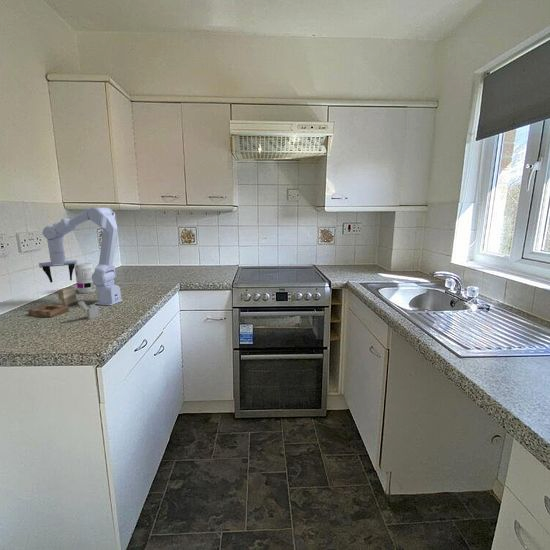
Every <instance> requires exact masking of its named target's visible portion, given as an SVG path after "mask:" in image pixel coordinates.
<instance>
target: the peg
mask: <svg viewBox="0 0 550 550" xmlns="http://www.w3.org/2000/svg"><path fill="white" fill-rule="evenodd" d="M76 293H77V292H76V289H75V286H67V287H64V288H59V289H57V296H58V302H59V305H64V306H68V307H71V306H75V305H77V304H78V302H77V294H76Z"/></svg>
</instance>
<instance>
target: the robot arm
mask: <svg viewBox="0 0 550 550" xmlns="http://www.w3.org/2000/svg"><path fill="white" fill-rule="evenodd" d="M60 220H61V221H59V222H57V223H55V222H54V223H52V226H50V225H49V226H45V227H44V228H43V229H42V236H43V237H44V238H45V239H46V240H47V241H46V242H47V248H48V253H49V259H50V261H47V262H46V261H45V262H39V263H38V267H39V269H41V268H42V271H43V272H44V273H45V275H47V278H48V280H49V282H50V284H51V283H53V278H52V272H51V267H63V266H68V273H69V281H73V273H74V271H75V266H76V265H77V264H78V260H77V259H75V260H66V254H65V249H64V248H65V247H64V237H65V235H67V234H68V233H71V232H73V231H75V230H76V227H77V226H79V225H81V224H84V223H86V222H88V221H91V222H92V223H94V224H96V225H97V226H99V228H100V229H102V235H101V237H102V239H101V246H100V251H99V252H100V254H99V260H98V261H99V262H98V264H97V266H96V267H95V268H94V270H93V272H94V273H93V275H92V281H93V283H94V284H95V287H96V293H97V301H96V302H94V303H93V304H95V305H101V306H102V305H104V306H113V305H116V304H118V303H120V302H123V299H122V293H121V288H120V286H119V285H117V284H115V280H116V279H117V273H116V267H115V266H114V264H113V261H114V255H115V250H116V249H115V247H116V240H117V233H118V225H117V221H116V213H115V212H114V211H113V210H112V208H110V207H106V206H105V207H99V206H97V207H96V206H92V207H90V208H88V209H87V208H86V209H85V210H84V211H83V212H81V213H79V214H78V215H76V216H74V217H73V218H71V219H70V218H61V219H60Z"/></svg>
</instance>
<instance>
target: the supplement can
mask: <svg viewBox="0 0 550 550" xmlns="http://www.w3.org/2000/svg"><path fill="white" fill-rule="evenodd" d="M74 273H75V280H76V289H77V292H78V293H79V294H91V293H93V292H95V291H97V287H96V284H94V283H93V281H92V275H93V273H94V266H93V265H92V263H90V262H87V263H86V262H84V263H77V265H75V267H74ZM90 292H91V293H90Z"/></svg>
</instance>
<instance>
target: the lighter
mask: <svg viewBox="0 0 550 550" xmlns="http://www.w3.org/2000/svg"><path fill="white" fill-rule="evenodd" d="M77 304H78V305H79V306H80V308H81V310H82V311H83V312H86V317H87V320H92V319H94V318H98V317H100V311H99V306H98V305H96V304H94V303H93V304H89V305H88V306H87V304H86V303H85V301H84V300H80V301H78V302H77Z"/></svg>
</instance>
